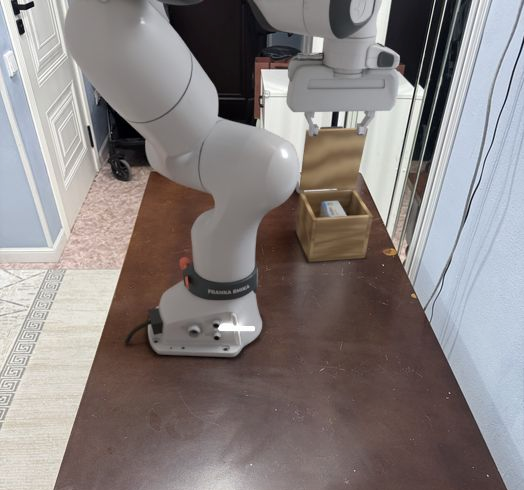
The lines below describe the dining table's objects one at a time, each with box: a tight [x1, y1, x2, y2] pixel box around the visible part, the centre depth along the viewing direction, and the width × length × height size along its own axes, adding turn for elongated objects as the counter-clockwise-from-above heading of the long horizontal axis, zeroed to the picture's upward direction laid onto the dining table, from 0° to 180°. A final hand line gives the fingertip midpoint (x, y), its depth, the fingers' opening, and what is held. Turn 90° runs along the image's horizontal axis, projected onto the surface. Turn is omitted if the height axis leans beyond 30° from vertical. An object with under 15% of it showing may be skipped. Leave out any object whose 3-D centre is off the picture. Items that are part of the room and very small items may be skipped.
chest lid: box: [299, 125, 369, 191], centre depth 114 cm, size 15×14×5 cm
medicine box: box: [319, 201, 347, 218], centre depth 118 cm, size 8×4×9 cm, turn 9°
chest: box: [296, 188, 374, 263], centre depth 118 cm, size 14×14×11 cm
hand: (336, 134), depth 95 cm, fingers open, 8 cm apart
